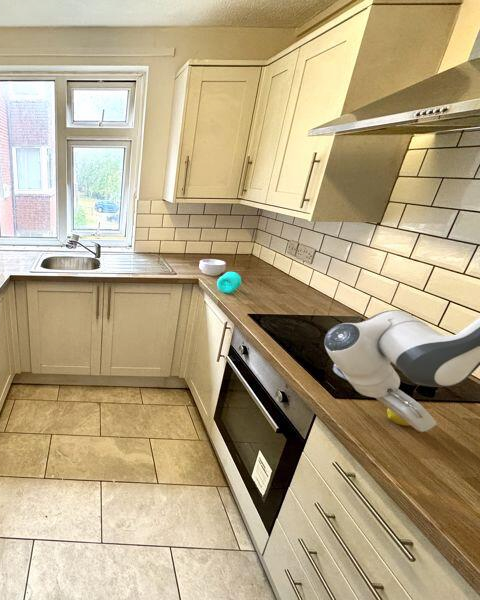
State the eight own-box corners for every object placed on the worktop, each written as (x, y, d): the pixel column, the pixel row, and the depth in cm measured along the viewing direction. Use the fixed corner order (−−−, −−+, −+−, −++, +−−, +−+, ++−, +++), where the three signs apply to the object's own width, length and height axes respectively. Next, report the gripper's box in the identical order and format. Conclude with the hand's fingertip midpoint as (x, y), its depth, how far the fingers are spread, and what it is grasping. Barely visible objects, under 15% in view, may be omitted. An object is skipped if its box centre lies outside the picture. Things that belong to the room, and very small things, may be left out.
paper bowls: (202, 268, 208) (203, 257, 205) (226, 272, 200) (228, 260, 197) (195, 274, 197) (197, 262, 194) (220, 279, 188) (223, 266, 185)
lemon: (389, 430, 81) (419, 422, 81) (405, 427, 76) (437, 418, 76) (374, 409, 84) (403, 401, 84) (388, 404, 79) (419, 396, 79)
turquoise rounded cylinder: (240, 290, 170) (243, 273, 166) (234, 296, 163) (238, 277, 159) (221, 286, 176) (224, 269, 172) (214, 291, 169) (218, 273, 165)
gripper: (430, 399, 64) (456, 436, 68) (350, 347, 83) (374, 378, 87) (400, 416, 66) (426, 451, 70) (328, 361, 85) (352, 391, 88)
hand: (397, 410), depth 78 cm, fingers closed
